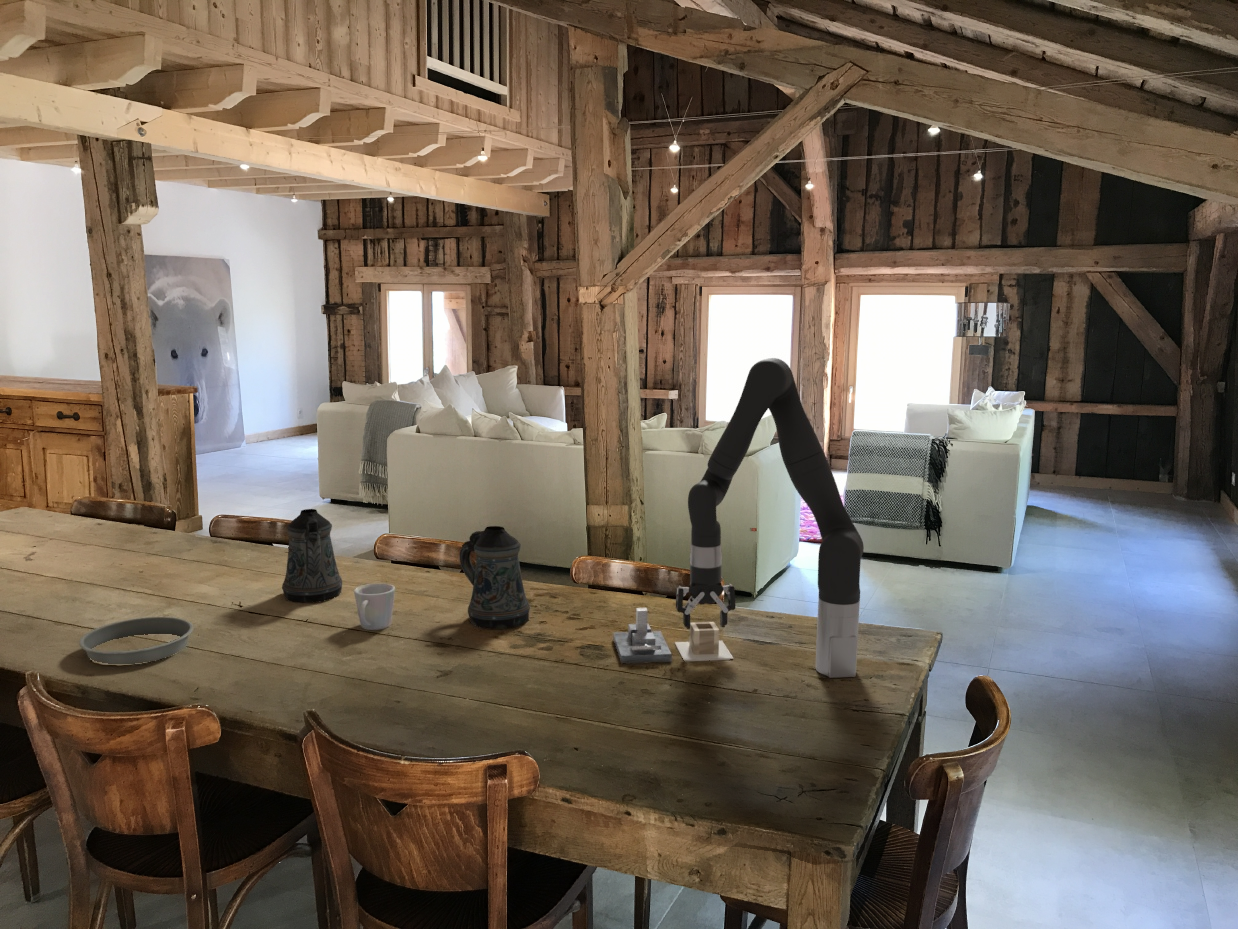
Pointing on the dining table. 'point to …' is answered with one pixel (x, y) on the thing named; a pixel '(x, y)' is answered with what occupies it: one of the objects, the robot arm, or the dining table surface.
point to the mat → (689, 656)
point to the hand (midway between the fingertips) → (705, 627)
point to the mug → (375, 605)
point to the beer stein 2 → (495, 580)
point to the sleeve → (704, 638)
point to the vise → (641, 642)
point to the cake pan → (137, 628)
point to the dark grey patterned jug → (311, 560)
